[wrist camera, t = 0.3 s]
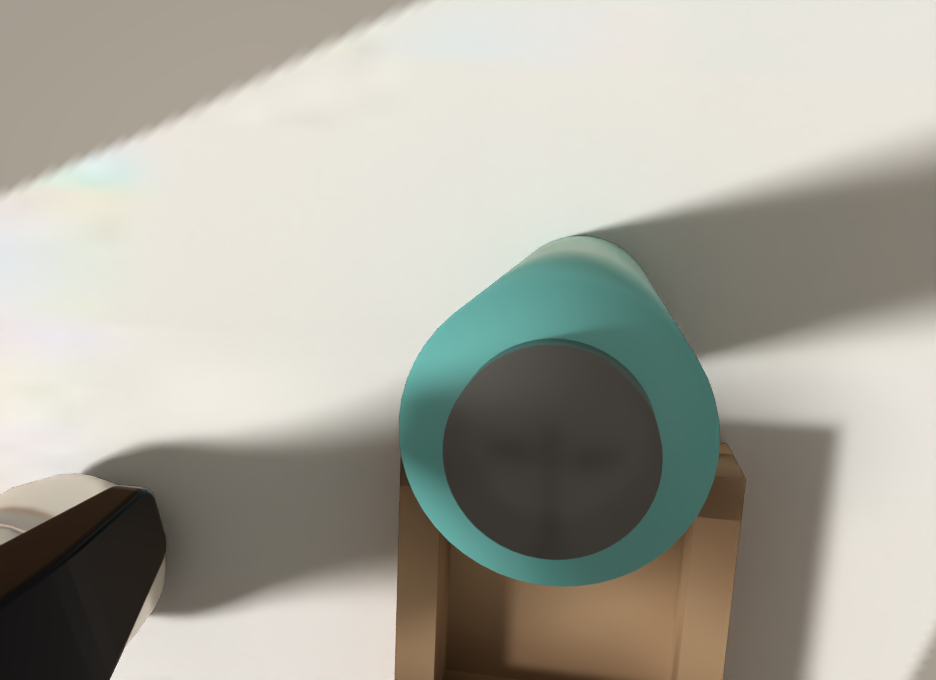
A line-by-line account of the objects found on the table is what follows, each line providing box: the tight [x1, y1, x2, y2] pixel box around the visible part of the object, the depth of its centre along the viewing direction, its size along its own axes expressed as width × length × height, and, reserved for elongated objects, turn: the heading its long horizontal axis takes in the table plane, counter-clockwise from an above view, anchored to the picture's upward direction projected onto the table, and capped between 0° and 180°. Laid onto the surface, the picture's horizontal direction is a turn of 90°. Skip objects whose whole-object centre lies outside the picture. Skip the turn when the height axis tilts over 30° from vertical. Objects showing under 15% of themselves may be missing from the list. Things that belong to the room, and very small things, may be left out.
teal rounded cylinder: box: [399, 236, 720, 587], centre depth 16 cm, size 4×4×14 cm
